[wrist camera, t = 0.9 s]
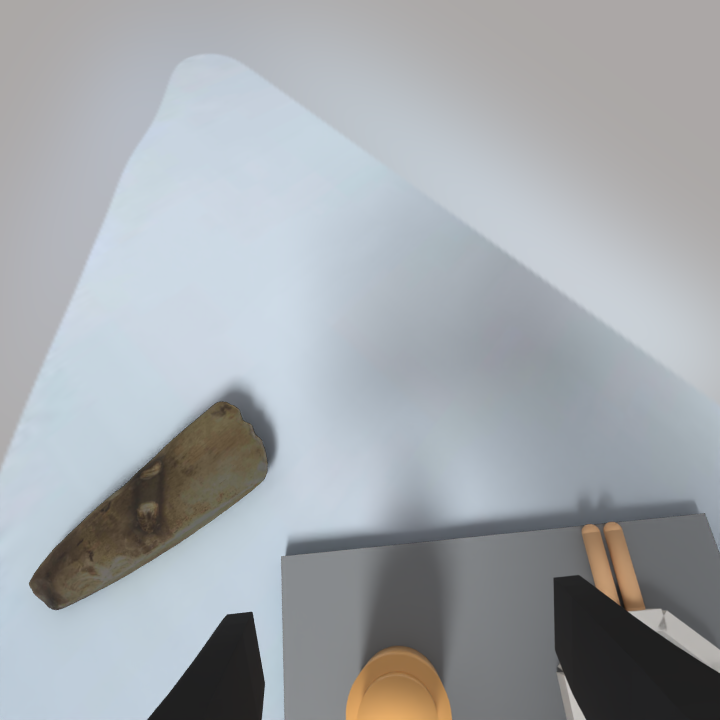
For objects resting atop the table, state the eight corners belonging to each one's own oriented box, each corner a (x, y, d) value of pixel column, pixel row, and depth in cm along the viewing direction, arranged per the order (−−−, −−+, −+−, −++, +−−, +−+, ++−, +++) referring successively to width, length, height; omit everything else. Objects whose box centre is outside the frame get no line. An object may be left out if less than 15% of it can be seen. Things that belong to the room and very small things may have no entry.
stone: (236, 404, 30) (223, 390, 28) (289, 467, 28) (279, 457, 26) (34, 568, 27) (4, 565, 25) (79, 650, 25) (49, 655, 23)
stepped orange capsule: (448, 741, 21) (464, 791, 16) (361, 749, 22) (345, 801, 16) (435, 642, 23) (445, 653, 17) (354, 649, 23) (336, 664, 17)
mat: (837, 910, 19) (882, 943, 17) (294, 951, 20) (282, 986, 18) (696, 515, 25) (718, 508, 23) (284, 557, 26) (275, 554, 24)
